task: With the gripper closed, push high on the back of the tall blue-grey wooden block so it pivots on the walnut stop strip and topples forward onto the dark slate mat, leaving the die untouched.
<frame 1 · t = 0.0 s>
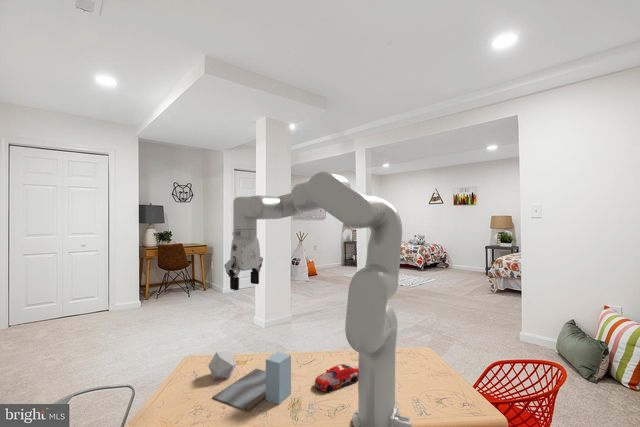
hand: (245, 286, 106), 31 cm above the table, tool pointing down, fingers open, 9 cm apart
race car: (337, 384, 105), on the table
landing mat: (252, 388, 101), on the table
die: (222, 376, 109), on the table
tall block: (278, 397, 97), on the table
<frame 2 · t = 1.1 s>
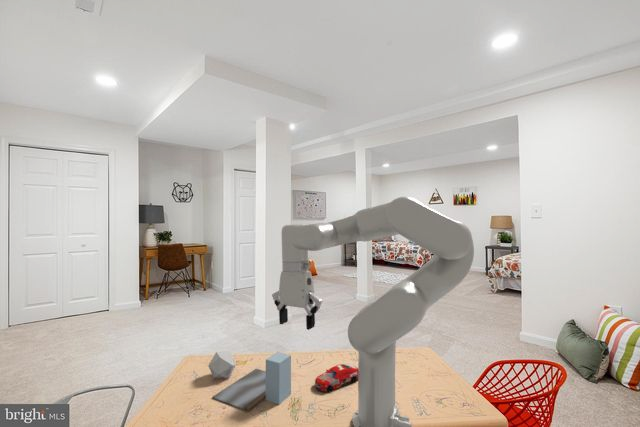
hand: (296, 325, 94), 23 cm above the table, tool pointing down, fingers open, 9 cm apart
nothing on the table moved.
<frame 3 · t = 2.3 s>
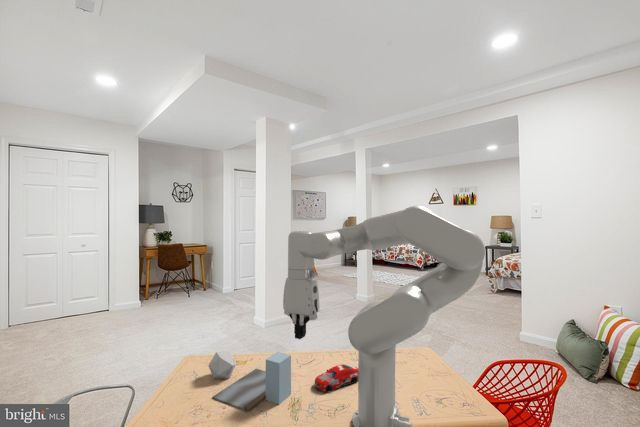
hand: (300, 337, 93), 19 cm above the table, tool pointing down, fingers closed
nothing on the table moved.
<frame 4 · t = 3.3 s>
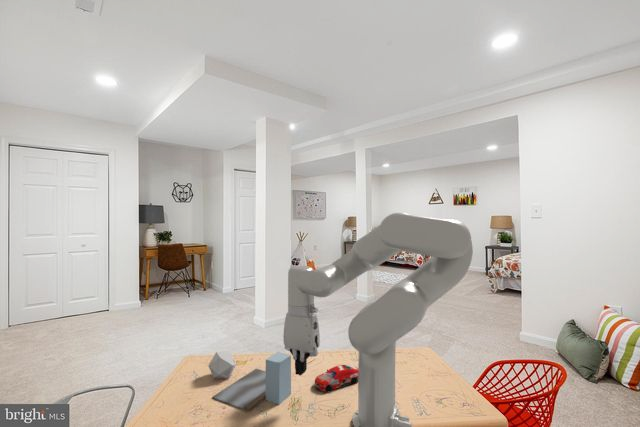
hand: (300, 372, 93), 9 cm above the table, tool pointing down, fingers closed
nothing on the table moved.
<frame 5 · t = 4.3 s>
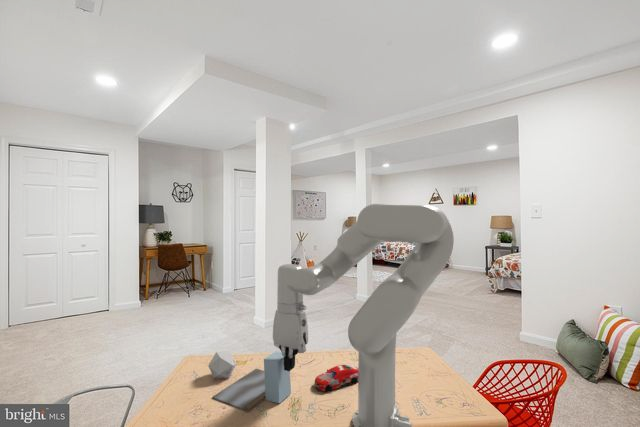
hand: (289, 368, 95), 9 cm above the table, tool pointing down, fingers closed
nothing on the table moved.
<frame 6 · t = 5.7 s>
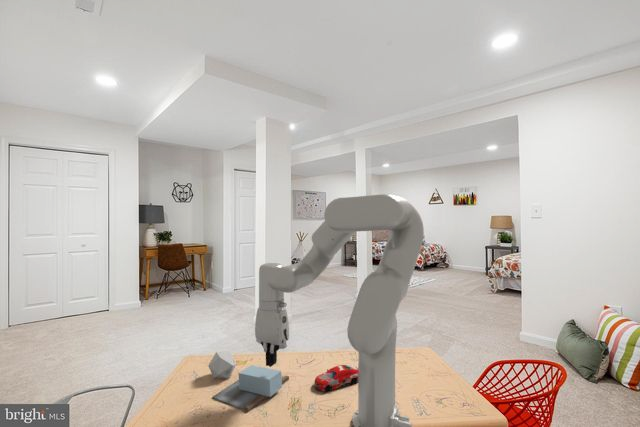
hand: (271, 364, 98), 9 cm above the table, tool pointing down, fingers closed
tall block: (275, 383, 97), point 4 cm above the table, tilted 94°, touching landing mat
everything else where it was.
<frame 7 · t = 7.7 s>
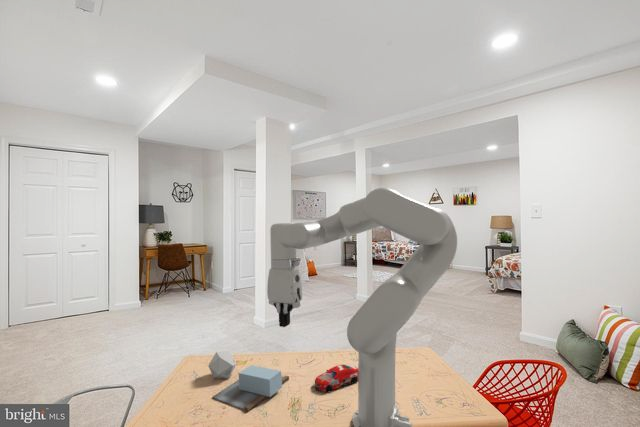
hand: (284, 325, 96), 22 cm above the table, tool pointing down, fingers closed
nothing on the table moved.
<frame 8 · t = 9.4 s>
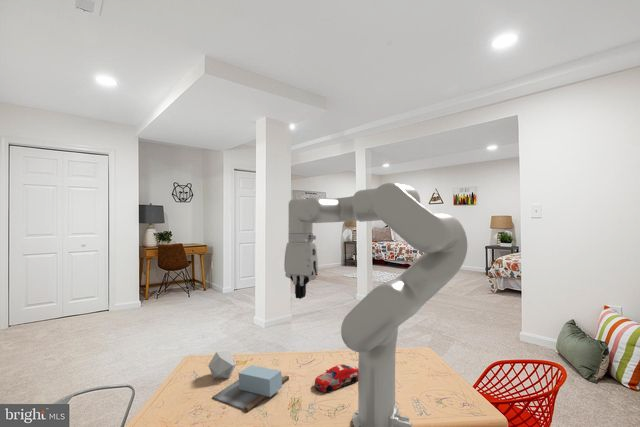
hand: (300, 297, 100), 29 cm above the table, tool pointing down, fingers closed
nothing on the table moved.
at the end: tall block tilted 94°; tall block inside the target area (5.0 cm from its centre), point 3.8 cm above the table; die moved 0.2 cm from its start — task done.
